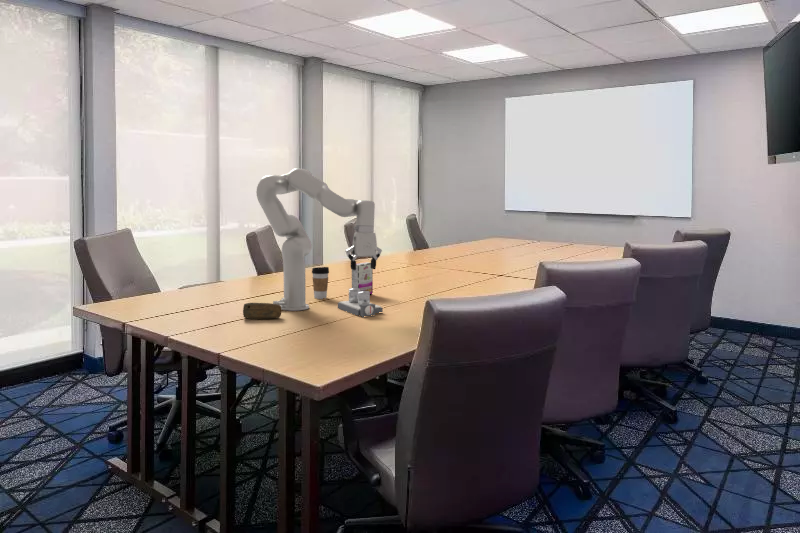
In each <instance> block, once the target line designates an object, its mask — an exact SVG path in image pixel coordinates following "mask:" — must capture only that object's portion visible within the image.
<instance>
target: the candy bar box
mask: <svg viewBox="0 0 800 533" xmlns="http://www.w3.org/2000/svg"><path fill="white" fill-rule="evenodd" d="M373 270H374V269H371V262H369V261H364V262H359V263H356V270H352V269H351V288H359V289H360V291H369V292H370V294H372V293H374V292H373V290H374V289H373V288H374V287H373V286H374V285H373V284H374V283H373V282H374V280H373V279H374V278H373V276H374V275H373ZM372 295H373V294H372Z"/></svg>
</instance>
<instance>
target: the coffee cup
mask: <svg viewBox="0 0 800 533" xmlns="http://www.w3.org/2000/svg"><path fill="white" fill-rule="evenodd" d="M329 273H330V270H329V266H321V267H320V266H319V267H312V269H311V274H312V285H313V286H312V287H313V298H314V299H316V298H317V299H318V300H320V299H321V300H324V299H323V298H325V299H327V298H326V297H327V296H328V295H327V294H328V284H329ZM317 299H316V300H317Z"/></svg>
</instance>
